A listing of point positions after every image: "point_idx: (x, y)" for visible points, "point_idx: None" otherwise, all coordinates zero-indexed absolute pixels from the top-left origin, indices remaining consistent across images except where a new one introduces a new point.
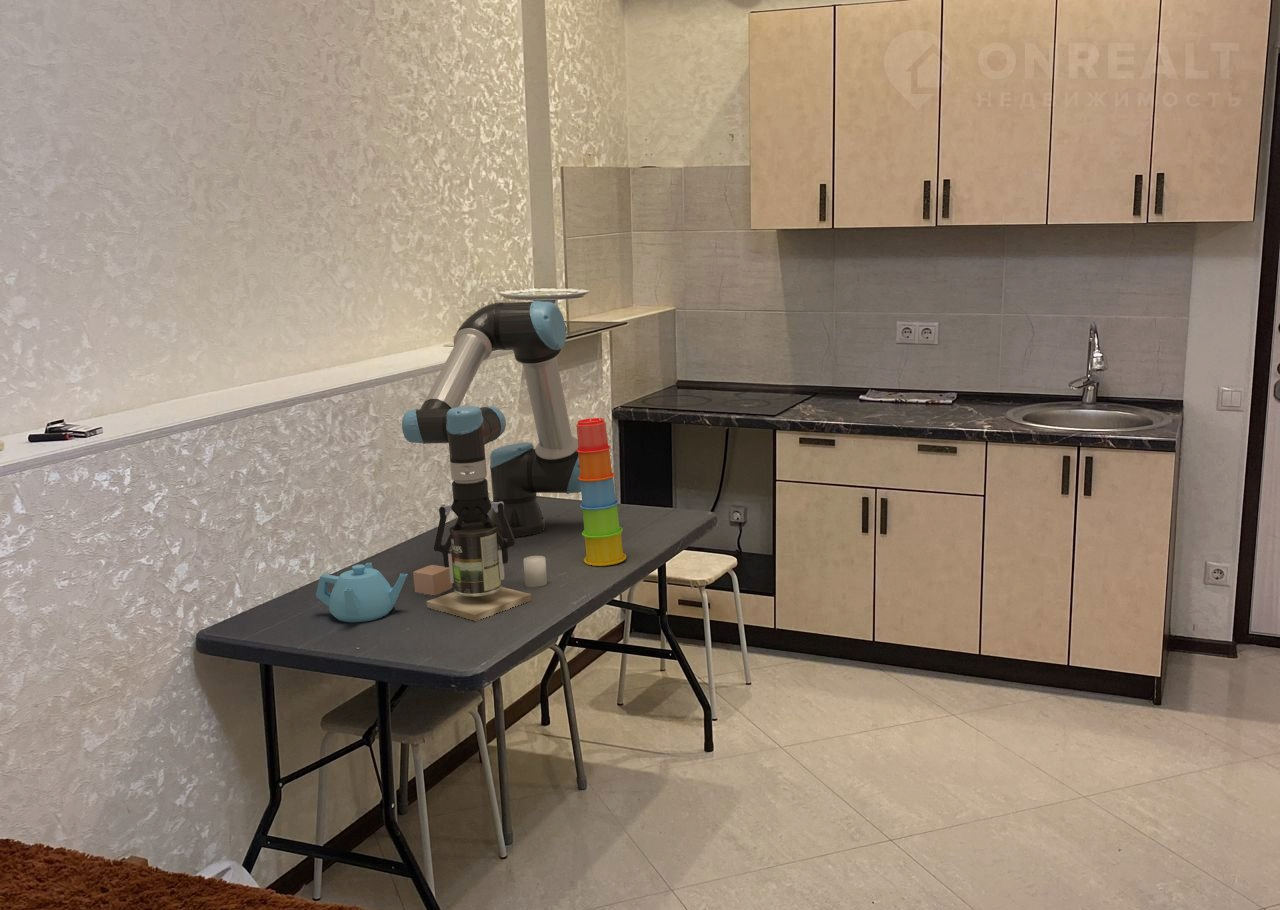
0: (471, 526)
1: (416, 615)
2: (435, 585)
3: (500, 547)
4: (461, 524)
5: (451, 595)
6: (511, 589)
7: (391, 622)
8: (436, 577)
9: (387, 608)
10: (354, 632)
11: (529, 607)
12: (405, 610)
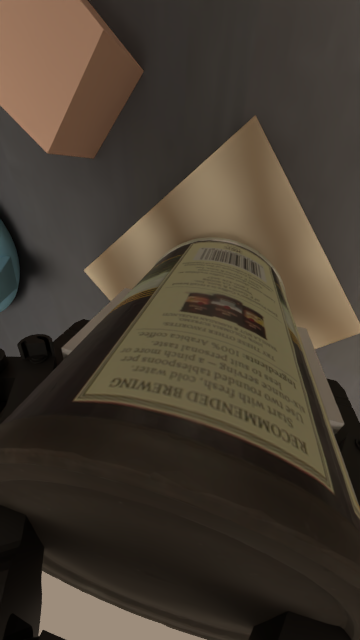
0: (126, 555)
1: (80, 303)
2: (79, 148)
3: (332, 424)
4: (37, 630)
5: (141, 247)
6: (327, 263)
7: (44, 321)
8: (66, 137)
9: (13, 297)
10: (2, 340)
11: (326, 360)
12: (49, 262)
